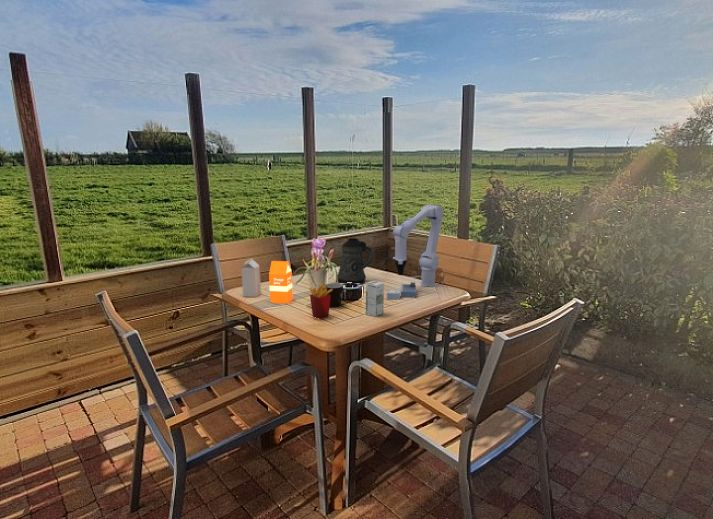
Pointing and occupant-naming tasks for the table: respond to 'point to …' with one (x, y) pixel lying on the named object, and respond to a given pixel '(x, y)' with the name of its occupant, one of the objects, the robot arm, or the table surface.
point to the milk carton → (251, 279)
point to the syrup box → (374, 298)
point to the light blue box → (393, 294)
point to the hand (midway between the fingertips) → (400, 274)
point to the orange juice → (280, 282)
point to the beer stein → (353, 261)
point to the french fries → (320, 301)
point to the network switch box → (408, 290)
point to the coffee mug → (335, 294)
